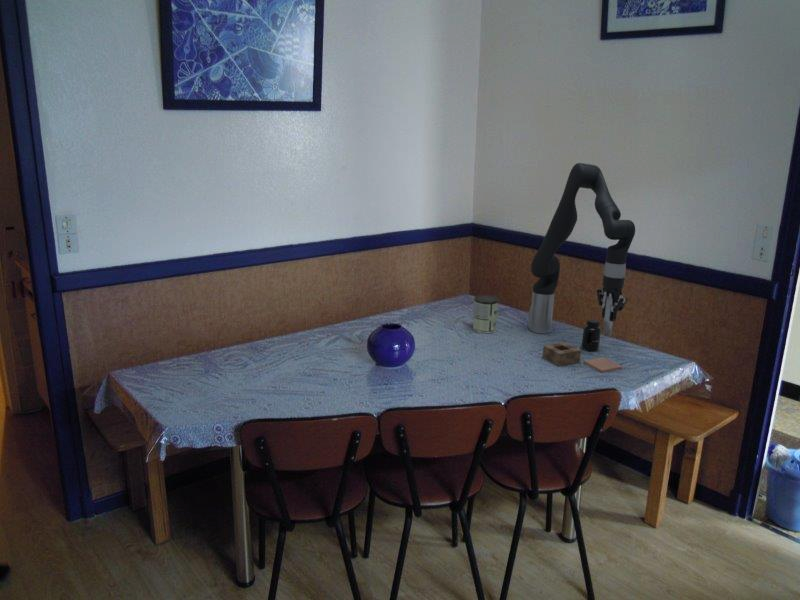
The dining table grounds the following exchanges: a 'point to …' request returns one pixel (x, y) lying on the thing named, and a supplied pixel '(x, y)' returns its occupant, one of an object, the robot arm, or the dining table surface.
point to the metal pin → (607, 319)
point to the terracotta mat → (603, 364)
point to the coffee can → (485, 313)
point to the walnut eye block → (561, 354)
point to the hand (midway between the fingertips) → (608, 319)
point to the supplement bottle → (591, 335)
